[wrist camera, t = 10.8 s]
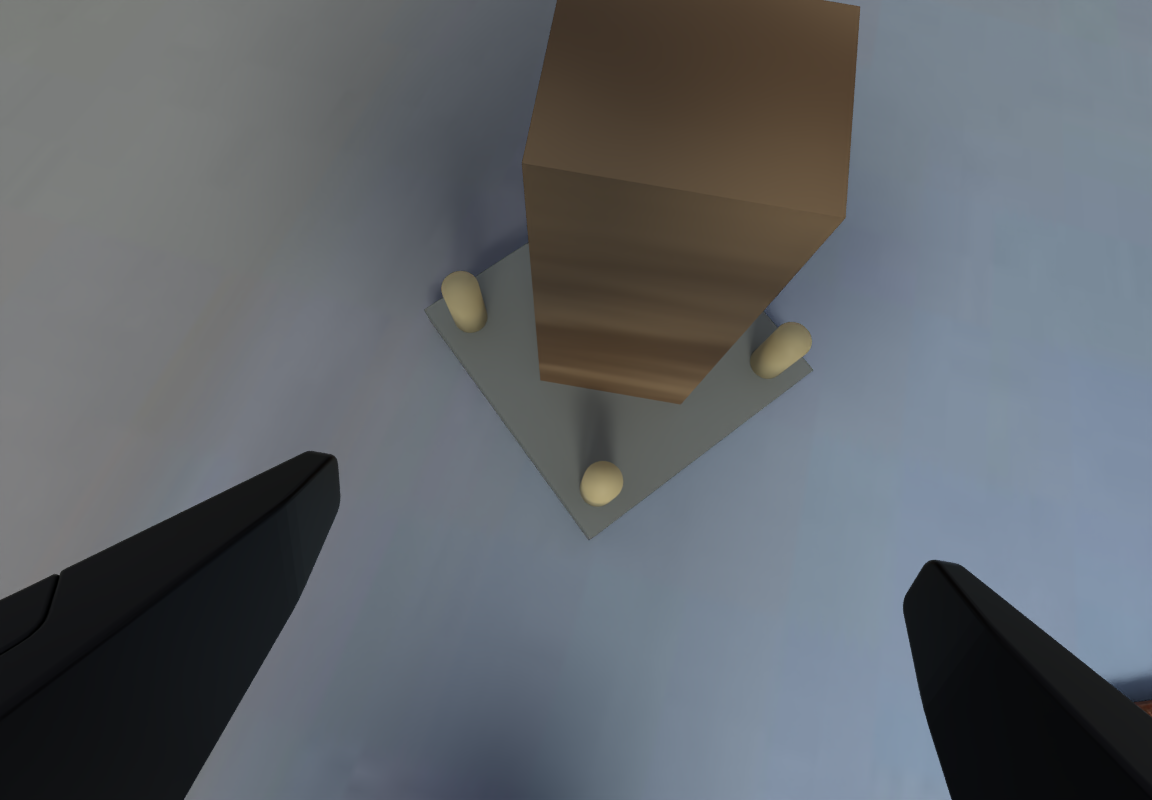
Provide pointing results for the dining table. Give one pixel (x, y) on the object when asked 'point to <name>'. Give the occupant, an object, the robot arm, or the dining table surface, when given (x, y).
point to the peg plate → (602, 396)
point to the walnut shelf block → (679, 179)
